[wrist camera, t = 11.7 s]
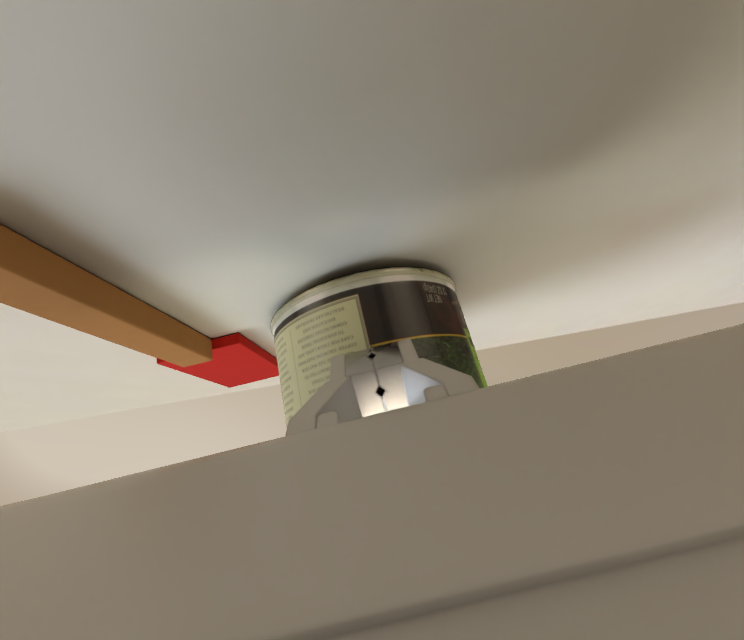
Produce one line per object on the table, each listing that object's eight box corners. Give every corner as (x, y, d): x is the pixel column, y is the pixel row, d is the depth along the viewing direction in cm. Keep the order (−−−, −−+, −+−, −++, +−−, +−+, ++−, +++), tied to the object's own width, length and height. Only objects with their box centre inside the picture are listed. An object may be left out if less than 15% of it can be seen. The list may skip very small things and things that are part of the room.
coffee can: (471, 241, 14) (633, 664, 10) (442, 319, 24) (516, 548, 19) (230, 302, 14) (278, 753, 10) (299, 355, 24) (339, 592, 19)
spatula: (21, 184, 8) (13, 227, 7) (287, 365, 26) (289, 381, 25) (-168, 232, 8) (-186, 277, 8) (229, 379, 26) (230, 395, 25)
